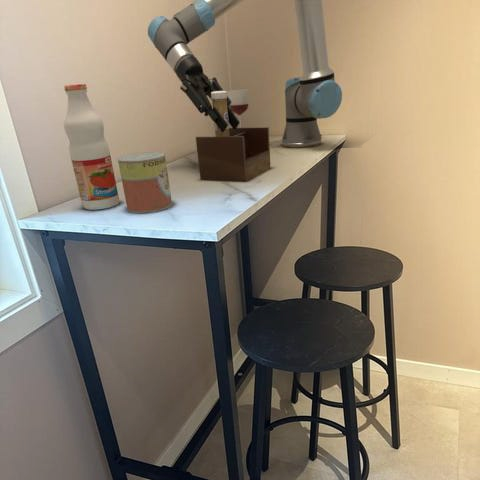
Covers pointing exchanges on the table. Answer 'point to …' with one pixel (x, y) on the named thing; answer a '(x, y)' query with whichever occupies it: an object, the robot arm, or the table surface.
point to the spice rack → (234, 154)
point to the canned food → (145, 182)
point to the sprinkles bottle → (220, 110)
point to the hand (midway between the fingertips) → (231, 127)
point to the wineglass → (239, 101)
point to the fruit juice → (89, 151)
